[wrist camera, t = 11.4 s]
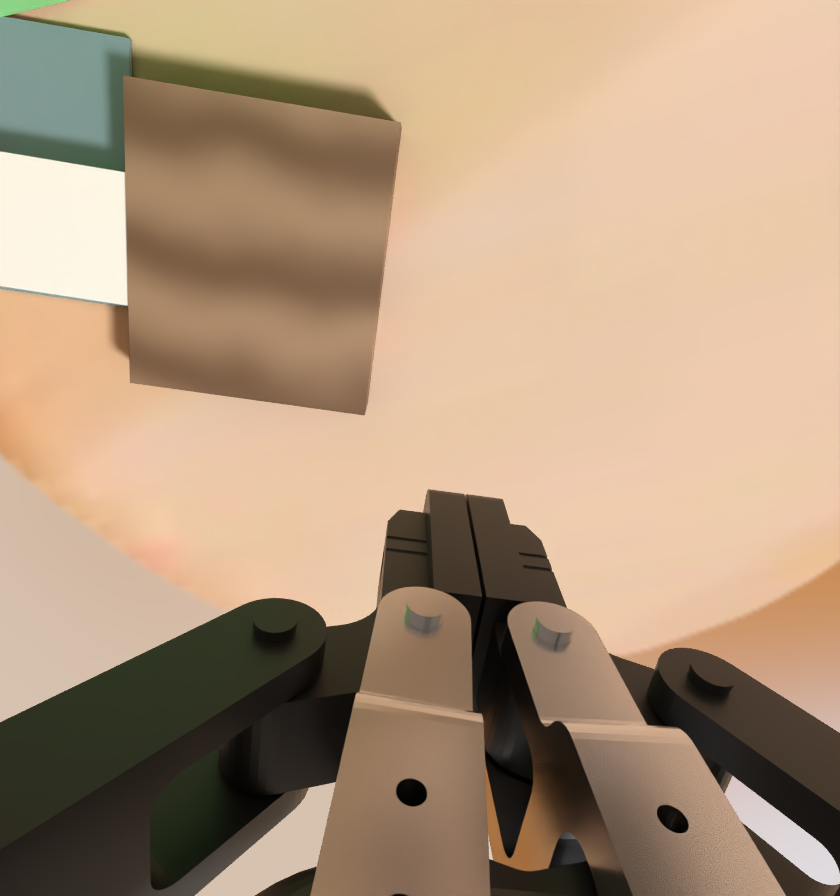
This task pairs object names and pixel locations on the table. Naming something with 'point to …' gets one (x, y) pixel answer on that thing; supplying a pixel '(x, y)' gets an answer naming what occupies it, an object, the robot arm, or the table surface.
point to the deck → (254, 244)
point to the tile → (63, 228)
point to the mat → (63, 96)
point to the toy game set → (23, 5)
